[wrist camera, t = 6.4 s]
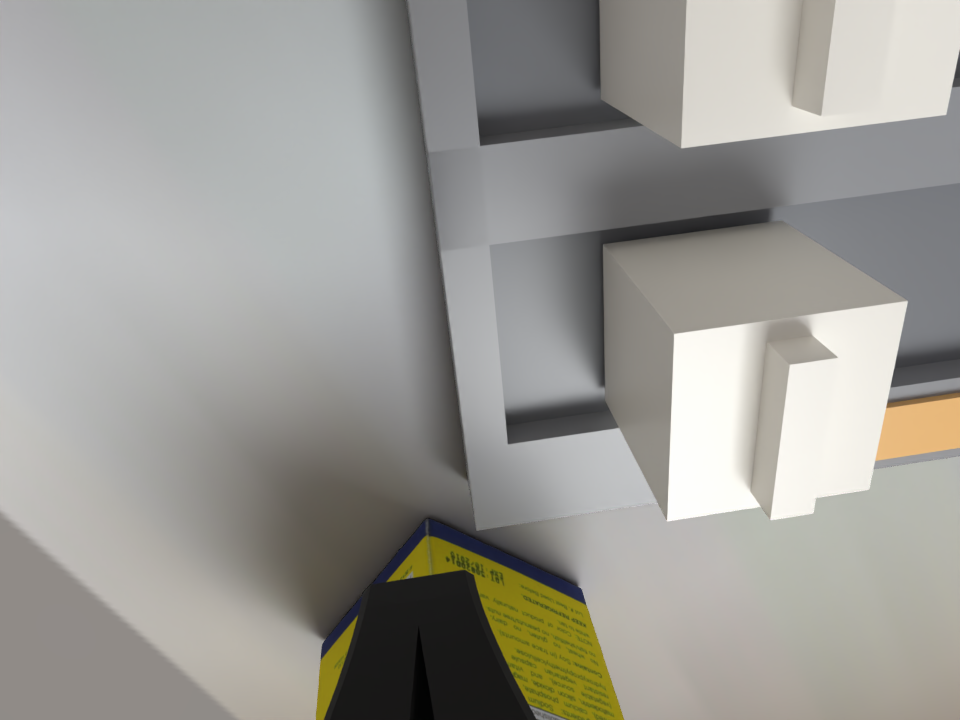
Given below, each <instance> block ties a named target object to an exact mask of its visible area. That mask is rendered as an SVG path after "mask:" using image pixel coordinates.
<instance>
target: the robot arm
mask: <svg viewBox="0 0 960 720" xmlns="http://www.w3.org/2000/svg"><path fill="white" fill-rule="evenodd" d="M324 720H537V719H536V717H535V716H534V714H533V712H532V710H531V708H530V706H529V704H528V702H527V701H526V699H525V697H524V695H523V693H522V691H521V689H520V688H519V686H518V684H517V682H516V680H515V678H514V676H513V674H512V672H511V670H510V668H509V666H508V664H507V662H506V660H505V658H504V656H503V654H502V651H501V649H500V647H499V645H498V642H497V640H496V638H495V636H494V634H493V631H492V629H491V626H490V624H489V621H488V619H487V616H486V614H485V611H484V608H483V606H482V603H481V599H480V596H479V593H478V590H477V586H476V582H475V577H474V575H473V574H471V573H470V572H468V571H466V570H459V571H453V572H446V573H440V574H434V575H427V576H421V577H415V578H408V579H402V580H396V581H389V582H383V583H377V584H370V586H369V587H368V588H367V589H366V590H365V591H364V592H363V595H362V600H361V605H360V609H359V613H358V617H357V621H356V625H355V629H354V632H353V636H352V639H351V642H350V646H349V649H348V652H347V655H346V658H345V661H344V664H343V667H342V670H341V673H340V676H339V679H338V682H337V685H336V688H335V691H334V693H333V696H332V699H331V701H330V704H329V707H328V709H327V712H326V715H325V717H324Z"/></svg>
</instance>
